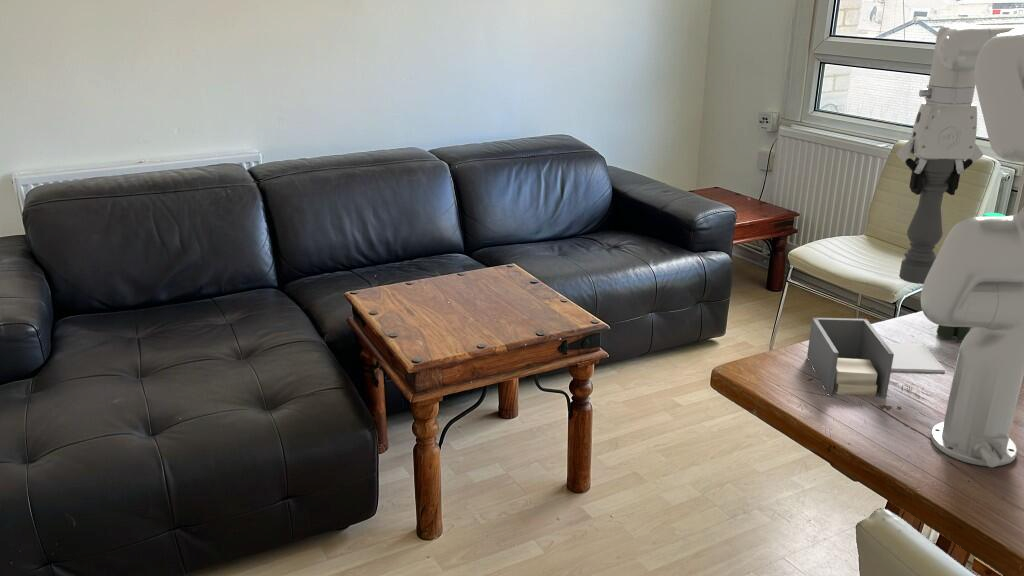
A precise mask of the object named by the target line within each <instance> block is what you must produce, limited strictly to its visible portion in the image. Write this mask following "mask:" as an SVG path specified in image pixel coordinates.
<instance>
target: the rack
mask: <svg viewBox="0 0 1024 576" xmlns="http://www.w3.org/2000/svg"><path fill="white" fill-rule="evenodd" d="M810 325H811V326H810V332H809V341H808V348H807V356H806V358H807V357H808V359H809V360H808V359H807V360H808V362H809V361H810V362H811V364H812V366H813V368H814V370H815V371H814V370H813V371H814V373H815V372H816V373H815V375H816V374H817V375H818V377H819V379H820V381H821V382H820V381H819V382H820V384H821V383H822V384H821V386H822V385H823V386H824V388H825V390H826V391H825V390H824V391H825V393H826V392H827V393H826V395H827V394H829V395H832V396H833V391H834V388H833V387H834V380H835V373H836V366H837V360H838V358H849V359H865V360H870V361H871V363H872V365H873V367H874V369H875V370H876V372H877V380H876V385H877V391H876V392H878V394H879V395H880V396H881V398H887V396H888V390H889V384H890V379H891V372H892V371H891V368H892V362H893V357H894V354H893V352H892V351H891V350H890V348H889V347H888V346H887V345H886V343H887V342H885V341H884V340H883V338H882V337H881V336H880V334H879V333H878V331H876V329H875V327H874V326H873V325H872V324H871V323H870V321H869V320H868V319H867V318H843V317H841V318H840V317H836V318H835V317H812V319H811V324H810ZM810 362H809V363H810ZM811 364H810V365H811ZM812 366H811V367H812ZM813 368H812V369H813ZM817 375H816V376H817ZM818 377H817V378H818ZM819 379H818V380H819ZM823 386H822V387H823ZM824 388H823V389H824Z"/></svg>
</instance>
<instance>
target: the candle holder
mask: <svg viewBox="0 0 1024 576" xmlns="http://www.w3.org/2000/svg"><path fill="white" fill-rule="evenodd" d="M954 165H955V160H950V159H938V160H927V162H926V164H925V166H924V168H923V170H922V174H924V178H923V184H922V189H921V194H919V195H920V196H919V200H918V201H919V202H918V205H917V208H916V210H915V212H914V214H913V217H912V218H911V220H910V224H909V226H908V227H907V230H906V235H907V238H908V241H909V242H910V243H909V246H910V248H908V249H907V250H906V251H905V252H904V255H903V256H904V258H902V260H901V263H900V264H901V265H900V269H899V275H898V276H899V279H901V280H903V281H904V282H906V283H912V284H917V285H918V284H919V285H920V284H921V285H924V282H925V279H926V277H927V275H928V273H929V271H930V269H931V267H932V265H933V263H934V261H935V259H936V257H937V255H936V253H935V251H934V249H936V245H937V244H938V243H939V242H940V241H941V239H942V238H943V222H942V221H943V220H942V203H943V197H944V194H945V193H946V192H945V191H946V190H948V188H949V185H948V184H947V183H946V180H947V179H948V177H949V176H950V175H951V172H953V170H954Z"/></svg>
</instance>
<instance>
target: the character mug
mask: <svg viewBox="0 0 1024 576" xmlns="http://www.w3.org/2000/svg"><path fill="white" fill-rule="evenodd" d="M970 330H971V327H952V326H941V325H938V327H937V330H936V334H937V336H938V337H940V338H941V339H944V340H947V341H952V340H953V338H956V342H962V341H963V339H964V338H965V336H966V335H967V334H968V332H969V331H970Z"/></svg>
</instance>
